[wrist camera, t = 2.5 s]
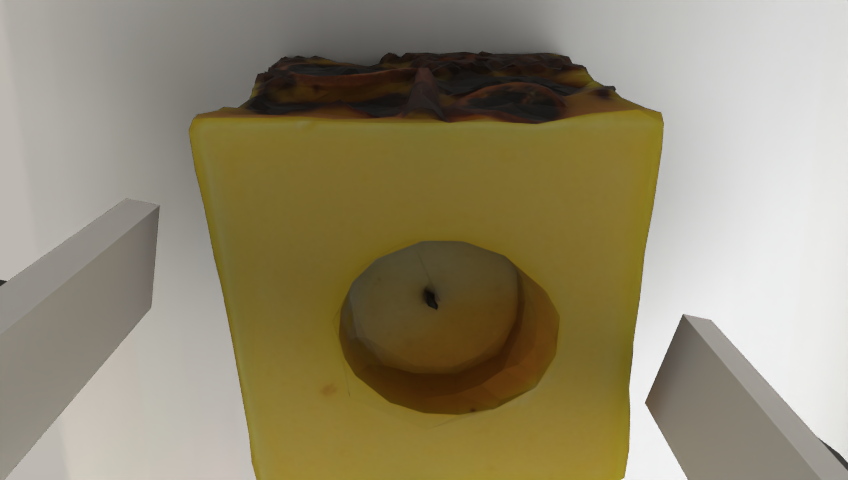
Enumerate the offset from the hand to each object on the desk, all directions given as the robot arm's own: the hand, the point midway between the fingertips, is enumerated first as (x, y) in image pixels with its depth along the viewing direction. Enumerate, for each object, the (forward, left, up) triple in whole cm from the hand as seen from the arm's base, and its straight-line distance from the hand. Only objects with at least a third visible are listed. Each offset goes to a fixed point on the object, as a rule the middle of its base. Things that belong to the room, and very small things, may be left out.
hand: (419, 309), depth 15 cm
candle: (0, 0, -9) cm, 9 cm away
